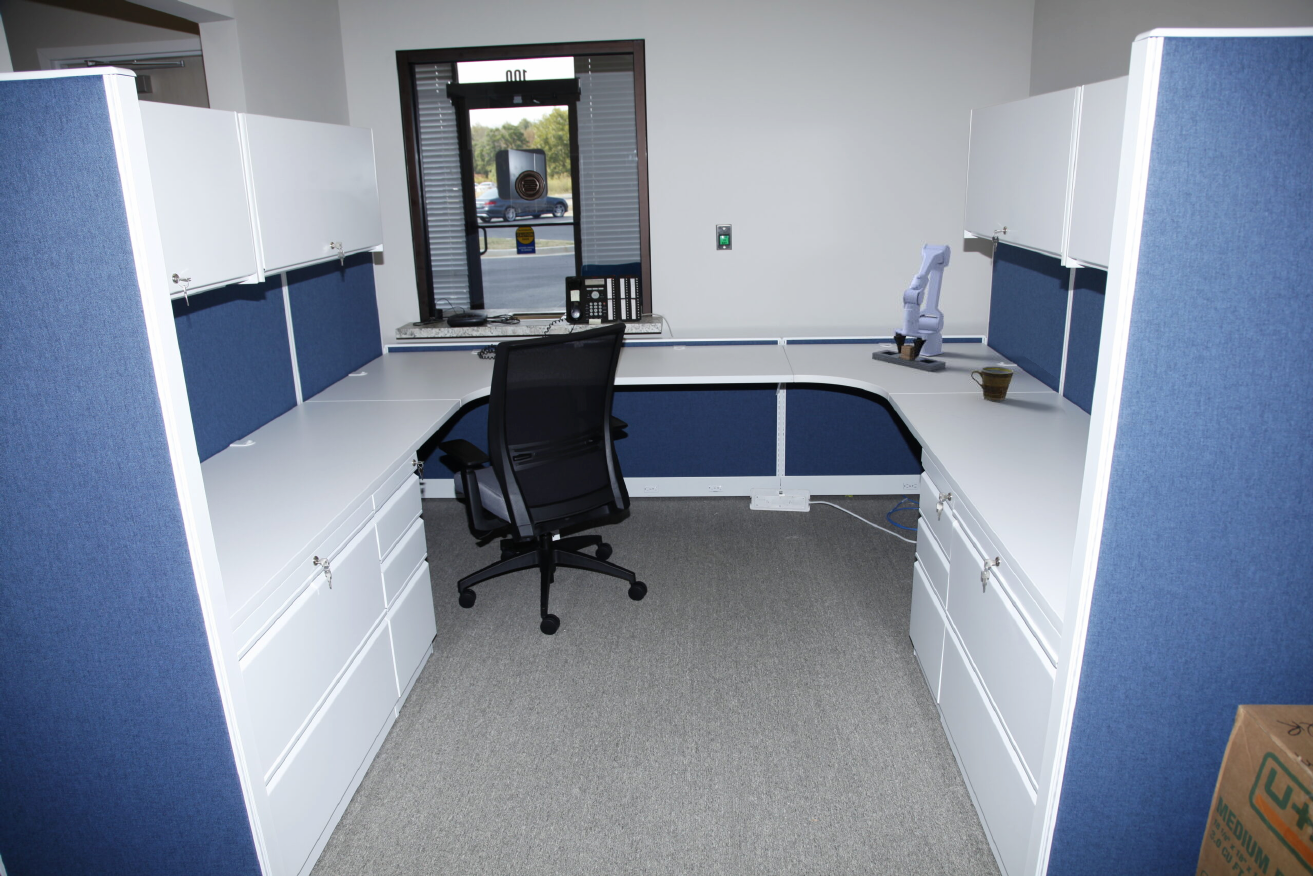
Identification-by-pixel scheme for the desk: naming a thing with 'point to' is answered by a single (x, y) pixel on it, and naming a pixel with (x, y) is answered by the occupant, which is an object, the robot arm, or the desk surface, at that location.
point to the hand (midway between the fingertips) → (908, 354)
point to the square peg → (907, 352)
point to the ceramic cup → (994, 382)
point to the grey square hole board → (909, 361)
